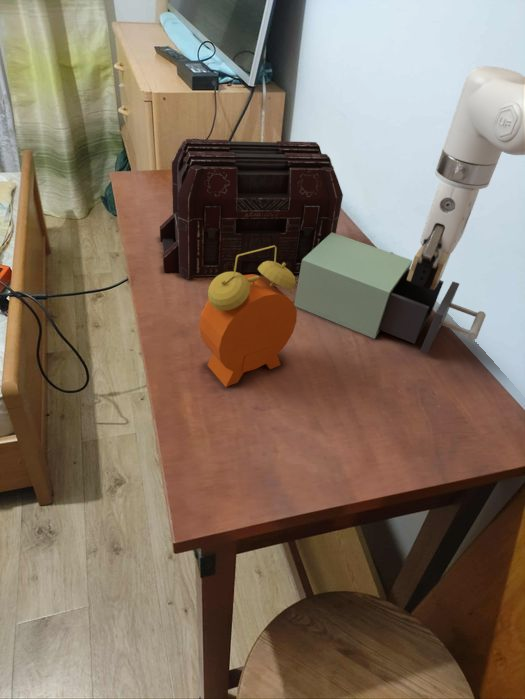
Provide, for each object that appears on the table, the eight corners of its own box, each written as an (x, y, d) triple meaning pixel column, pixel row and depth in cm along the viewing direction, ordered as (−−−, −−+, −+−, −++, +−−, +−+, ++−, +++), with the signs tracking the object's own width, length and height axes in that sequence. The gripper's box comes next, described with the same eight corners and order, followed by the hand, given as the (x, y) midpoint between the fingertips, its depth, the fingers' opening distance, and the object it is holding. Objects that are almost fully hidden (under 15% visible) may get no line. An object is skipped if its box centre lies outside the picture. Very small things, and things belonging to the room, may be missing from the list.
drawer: (477, 332, 90) (494, 295, 85) (462, 368, 82) (481, 330, 77) (369, 291, 96) (379, 255, 91) (346, 320, 88) (356, 283, 83)
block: (441, 277, 84) (450, 253, 81) (434, 290, 81) (443, 265, 78) (414, 268, 86) (423, 244, 83) (406, 280, 82) (414, 255, 79)
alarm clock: (267, 340, 83) (283, 229, 71) (289, 362, 80) (310, 250, 67) (196, 366, 77) (199, 249, 64) (217, 391, 73) (224, 273, 60)
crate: (317, 230, 115) (333, 134, 102) (344, 274, 100) (367, 168, 87) (159, 233, 107) (154, 129, 94) (164, 279, 93) (159, 165, 80)
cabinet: (397, 304, 95) (412, 260, 89) (374, 339, 87) (389, 292, 80) (322, 276, 100) (331, 232, 94) (293, 305, 92) (301, 259, 85)
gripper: (480, 195, 64) (433, 311, 76) (502, 159, 76) (459, 264, 88) (422, 178, 67) (386, 293, 78) (452, 145, 78) (417, 250, 90)
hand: (425, 277), depth 83 cm, fingers closed on block, 4 cm apart
